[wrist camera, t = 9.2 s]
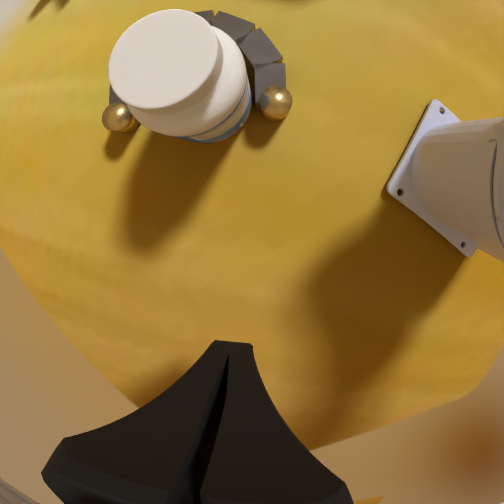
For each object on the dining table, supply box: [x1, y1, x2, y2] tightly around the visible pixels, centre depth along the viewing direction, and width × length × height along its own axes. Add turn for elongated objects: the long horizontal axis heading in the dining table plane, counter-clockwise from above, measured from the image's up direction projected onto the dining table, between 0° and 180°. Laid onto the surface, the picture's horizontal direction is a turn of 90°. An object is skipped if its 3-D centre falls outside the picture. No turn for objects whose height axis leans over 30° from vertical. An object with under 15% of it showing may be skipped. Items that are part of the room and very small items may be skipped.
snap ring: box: [102, 10, 292, 133], centre depth 15 cm, size 8×12×2 cm, turn 91°
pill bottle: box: [108, 9, 252, 143], centre depth 12 cm, size 6×5×10 cm
